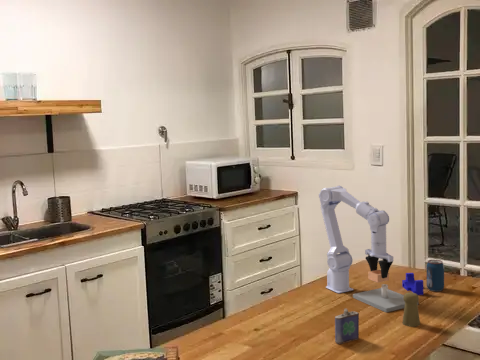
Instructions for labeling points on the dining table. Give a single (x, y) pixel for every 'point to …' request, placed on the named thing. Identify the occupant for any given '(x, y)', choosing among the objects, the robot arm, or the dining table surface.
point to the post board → (382, 299)
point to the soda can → (435, 275)
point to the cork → (411, 310)
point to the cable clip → (413, 284)
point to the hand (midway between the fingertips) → (379, 275)
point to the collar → (377, 276)
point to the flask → (346, 327)
